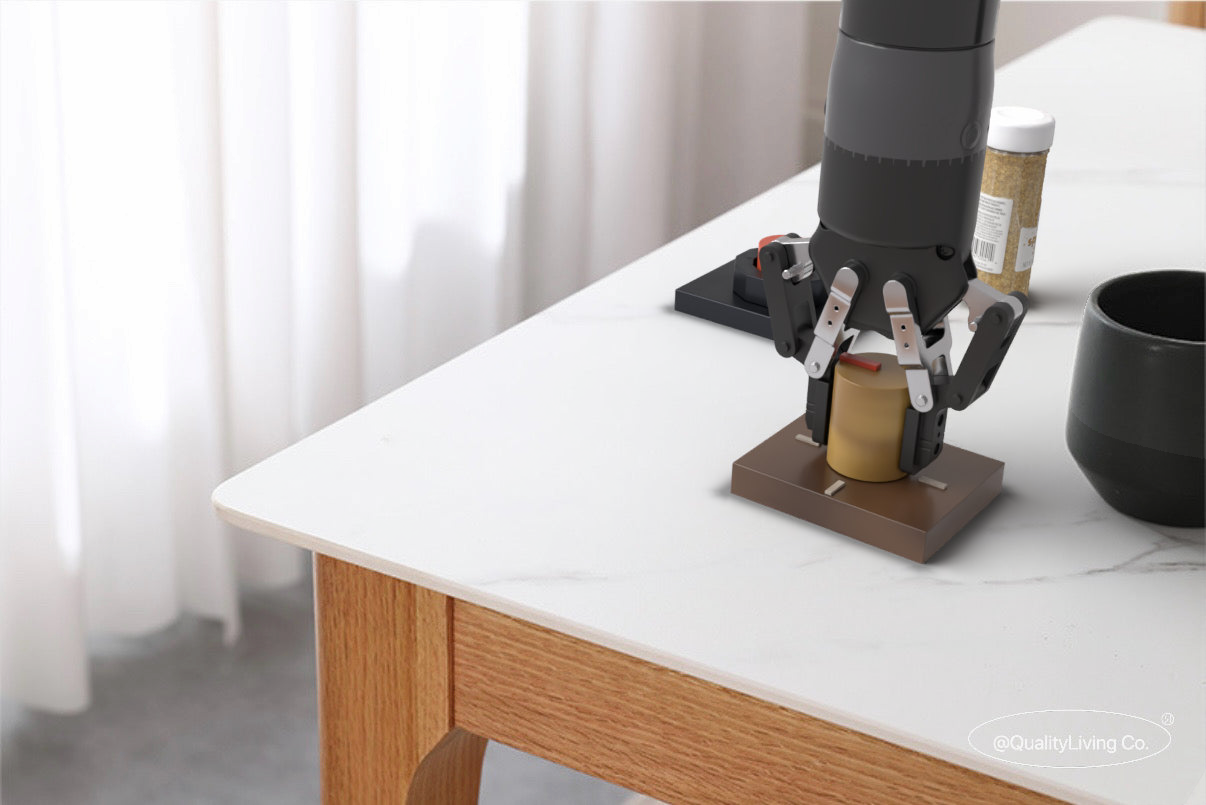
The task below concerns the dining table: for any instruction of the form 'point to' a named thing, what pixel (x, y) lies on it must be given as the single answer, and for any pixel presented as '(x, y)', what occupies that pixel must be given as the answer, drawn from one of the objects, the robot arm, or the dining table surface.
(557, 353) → the dining table surface
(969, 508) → the lock plate
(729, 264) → the button block
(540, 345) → the dining table surface
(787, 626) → the dining table surface
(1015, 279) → the sprinkles bottle
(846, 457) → the lock knob
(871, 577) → the dining table surface
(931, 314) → the robot arm
